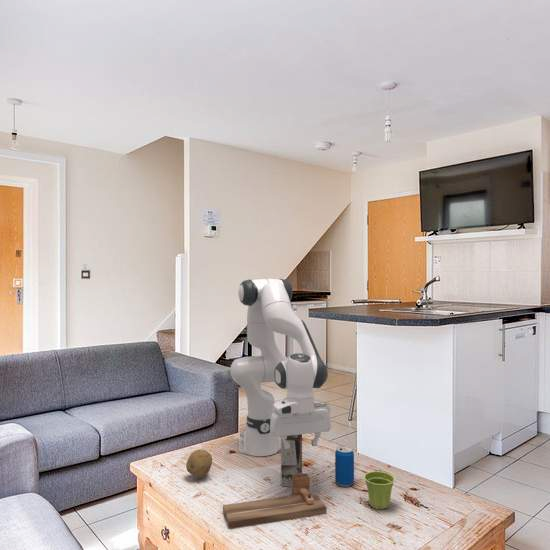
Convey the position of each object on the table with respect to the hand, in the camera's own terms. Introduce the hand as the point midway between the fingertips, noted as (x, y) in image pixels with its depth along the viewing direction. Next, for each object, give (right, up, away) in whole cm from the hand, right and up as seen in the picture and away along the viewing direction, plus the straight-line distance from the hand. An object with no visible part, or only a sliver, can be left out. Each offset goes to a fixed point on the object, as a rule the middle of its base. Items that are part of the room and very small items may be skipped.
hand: (300, 447), depth 150 cm
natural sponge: (-36, -17, +15) cm, 42 cm away
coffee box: (-3, -17, +12) cm, 21 cm away
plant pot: (+24, -17, -5) cm, 30 cm away
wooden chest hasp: (+1, -16, -4) cm, 17 cm away
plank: (-9, -16, -10) cm, 21 cm away
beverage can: (+16, -17, +10) cm, 25 cm away
